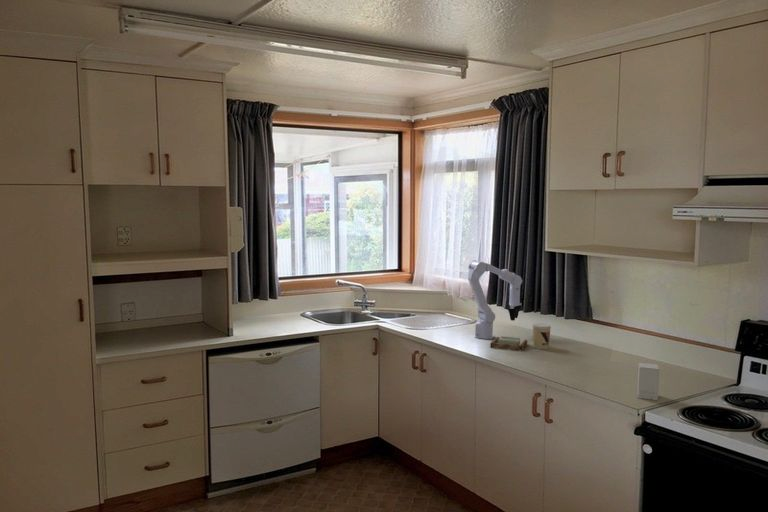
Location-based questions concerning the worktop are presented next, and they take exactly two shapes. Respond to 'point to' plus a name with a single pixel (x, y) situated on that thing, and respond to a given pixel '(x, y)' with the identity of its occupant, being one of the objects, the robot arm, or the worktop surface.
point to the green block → (509, 340)
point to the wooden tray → (507, 345)
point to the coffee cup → (541, 335)
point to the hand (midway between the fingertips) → (514, 319)
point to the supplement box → (648, 381)
